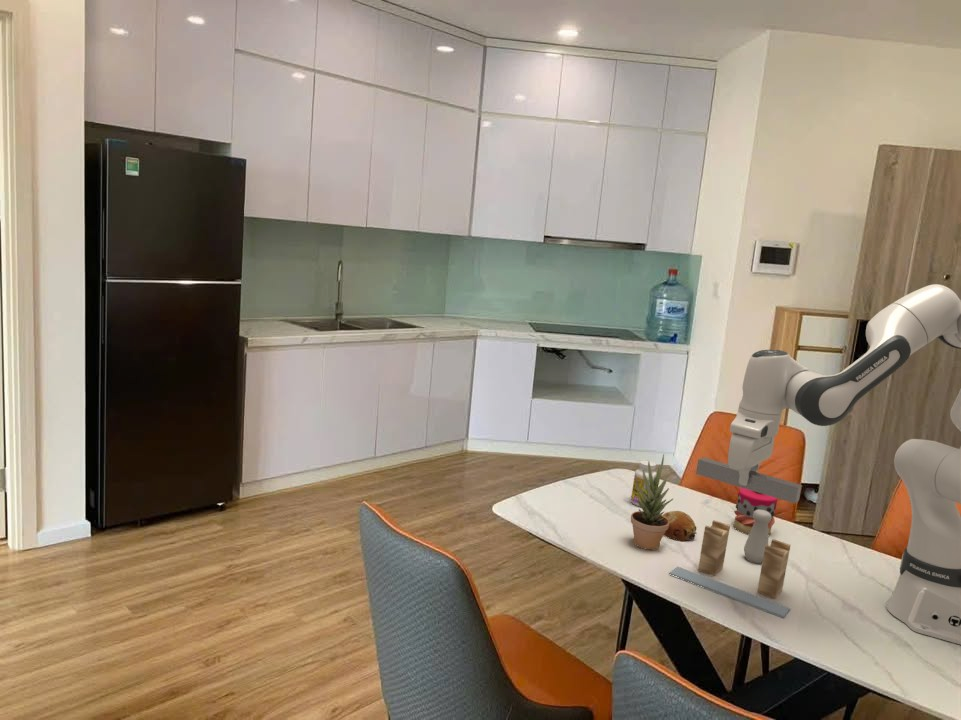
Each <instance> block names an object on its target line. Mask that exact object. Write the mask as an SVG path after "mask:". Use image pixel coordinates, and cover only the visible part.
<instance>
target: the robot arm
mask: <svg viewBox="0 0 961 720" xmlns="http://www.w3.org/2000/svg"><path fill="white" fill-rule="evenodd" d="M865 328H866V329H865V337H866V342H867V343H868V346H869V348H868V350H867V351H866V352H865V353H863V354H862V355H861V356H860V357H859V358H858V359H856V360H855V361H853V363H851V364H850V365H849V366H847V367H845V368H844V369H843V370H842V371H841V372H838V373H836V374H831V375H830V374H829V375H824V374H821V373H819V372H817V371H815V370H812V369H810V368H808V367H807V366H804V365H802V363H799V362H798V361H796V360H795V359H794V358H792V356H790V354H789V352H787V351H784V350H779V349H761V350H758V351H756V352H754V353H752V355H751V356H750V358H749V360H748V362H747V366H746V367H745V368H746V369H745V373H744V377H743V382H742V397H741V399H740V402H739V404H738V409H737V413H736V416H735V418H734V419H733V420H732V422H731V423H730V427H729V432H730V433H732V434H731V435H730V441H729V447H728V448H729V449H728V455H727V464H728V466H729V468H731V469H734V470H737V471H739V476H740V477H739V484H740V485H744V486H746V485H747V484H749V479H750V477H749V471H754V472H757V473H758V471H759V468H760V466H761V463H762V462H764V461H766V460H768V459H769V458H771V457H772V454H773V451H774V446H775V445H774V444H775V437H776V436H777V435H778V434H779V428H780V422H781V417H782V413H783V410H784V409H788V410H789V409H790V410H792V411H793V412H794V413H796V414H798V415H801V416H802V417H803V419H805V420H806V421H808V422H809V423H811V424H813V425H815V426H818V427H819V426H820V427H828V426H832V425H835V424H837V423H839V422H841V421H842V420H843V419H844V418H845V417H846V416H847V415H848V414H849V413H850V411H851V410H852V409H853V408H854V406H855V404H857V403H858V401H859V400H860V399H861V398H862V397H864V396H865V395H866V394H867V393H869V392H870V391H872V390H873V389H874V388H875V387H877V386H878V385H879V384H881V383H882V382H883V381H885V379H887V378H888V377H890V376H891V375H892V374H894V373H895V372H896V371H897V370H898V369H900V368H901V367H902V366H903V365H904V364H905V363H906V362H907V361H908V359H909V358H910V356H912V355H913V354H914V353H916V352H917V351H919V349H922V348H923V347H924V346H926V345H927V344H930V343H931V342H932V341H934V340H935V339H936V338H937V339H938V340H939V341H941V342H942V343H943V344H944V345H946V346H949V347H951V348H954V349H960V350H961V299H960V298H959V296H958V295H957V293H956V292H955V291H953V290H952V289H951V288H950V287H947V286H945V285H943V284H937V283H936V284H930V285H926V286H923V287H921V288H918V289H917V290H914V291H912V292H910V293H907V294H905V295H904V296H902V297H900V298H899V299H897V300H895V301H894V302H892V303H890V304H889V305H887V306H886V307H885V308H883V309H881V310H879V312H876V314H875V315H874V316H873V317H872V318H871V319H870V320H869V321H868V322H867V324H866V327H865ZM949 416H950V420H951V422H952V423H953V425H954V426H955V427H956V428H957V429H958V430H959V432H961V388H960V389H959V391H958V394H957V396H956V398H955V400H954V402H953V404H952V406H951V409H950V412H949ZM894 454H895V455H894V459H893V464H894V466H893V467H894V470H895V472H896V473H897V475H898V477H900V479H901V480H902V482H903V484H904V486H905V488H906V491H907V495H908V497H909V500H910V501H909V502H910V506H911V524H910V531H909V536H908V543H907V546H906V547H905V549H904V551H903V553H902V556H901V560H900V565H899V576H898V580H897V582H896V585H895V587H894V588H893V589H894V590H893V592H892V594H891V596H890V597H889V599H888V600H887V602H886V604H885V607H886V609H887V611H888V613H890V614H891V615H892V616H894V617H895V618H897V619H898V620H900V621H901V622H903V623H904V624H906V626H907V627H909V629H910V630H912V631H913V632H916V633H917V634H922V635H925V636H929V637H932V638H936V639H939V640H943V641H946V642H950V643H953V644H956V645H957V644H958V645H960V646H961V514H960V512H959V509H958V507H957V504H956V503H958V504H960V505H961V446H960V447H959V448H957V447H955V446H951V445H947V444H945V443H941V442H939V441H936V440H930V439H922V438H921V439H920V438H910V439H907V440H906V441H904V442H903V443H902V444H901V445H900V446H899V447H898V448H897V450H896V452H895V453H894Z"/></svg>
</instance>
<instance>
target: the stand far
mask: <svg viewBox="0 0 961 720" xmlns="http://www.w3.org/2000/svg"><path fill="white" fill-rule="evenodd" d="M730 527H731V525H729V524H728V523H723V522H721V521H718V520H712V523H711V525H705V526H704V531H703V536H702V544H701V550H700V555H699V562H698V568H697V571H698V570H699V571H698V572H701V571H702V572H701V573H704V574H706V573H707V574H706V575H710V576H712V577H715V576H716V575H718V574H719V573H720V572H721V571H722V570H723V569H724V563H725V558H726V551H727V546H728V540H729V533H730V530H731V529H730Z"/></svg>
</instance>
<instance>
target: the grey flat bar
mask: <svg viewBox="0 0 961 720" xmlns="http://www.w3.org/2000/svg"><path fill="white" fill-rule="evenodd" d="M669 574H671V575H674V576H677V577H679V578H682V579H684V580H687V581H689V582H692V583H694V584H693V585H695V584H696V585H695V586H697V585H699V586H698V587H700V586H702V587H704V588H703V589H705V588H706V589H705V590H708V589H709V590H708V591H710V590H711V592H713V591H714V593H716V594H719V595H721V596H724V597H727V598H729V599H731V600H734V601H737V602H740V603H742V604H744V605H748V606H749V607H753V608H755V609H758V610H761V611H763V612H766V613H768V614H771V615H773V616H775V617H776V616H777V617H779V618H782V619H785V617H786V616H787V615H788V614H789V612H790V611H791V607H790V606H789V607H788V606H786V605H783V604H780V603H778V602H775V601H772V600H770V599H767V598H764V597H762V596H759V595H757V594H753V593H751V592H748V591H746V590H743V589H739V588H737V587H736V586H735V587H734V586H731V585H729V584H726V583H723V582H720V581H719V580H716V579H713V578H710V577H708V576H705V575H703V574H700V573H696V572H694V571H692V570H689V569H685V568H683V567H680V566H676V567H675V568H673V569H672V570H671V571H669V572H668V575H669ZM671 575H670V576H671ZM674 576H673V577H674ZM679 578H678V579H679ZM684 580H683V581H684ZM687 581H686V582H687ZM689 582H688V583H689ZM692 583H691V584H692ZM702 587H701V588H702Z"/></svg>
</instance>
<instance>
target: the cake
mask: <svg viewBox="0 0 961 720" xmlns="http://www.w3.org/2000/svg"><path fill="white" fill-rule="evenodd" d="M777 505H778V498H775V497H772V496H768V495H765V494H761V493H758V492H755V491H751V490H748V489H745V488H741V487H739V489H738V493H737V504H735V508H736V510H734V511H733V513H734V514H735V517H734V521H733V527H734V529H735V528H736V529H735V530H737V531H738V530H739V531H738V532H740V531H741V532H740V533H742V532H743V533H742V534H745V535H748V534H750V532H751V529H752V527H753V524H754V522H755V520H754V519H753V513H754V511H755V510H765V511H767V512H769V513H770V514H771V521H770V522H769V523H768V535H769V536H771V532H772V528H773V526H774V525H775V523H776V522H775V517H774V516H775V512H776V509H777Z"/></svg>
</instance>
